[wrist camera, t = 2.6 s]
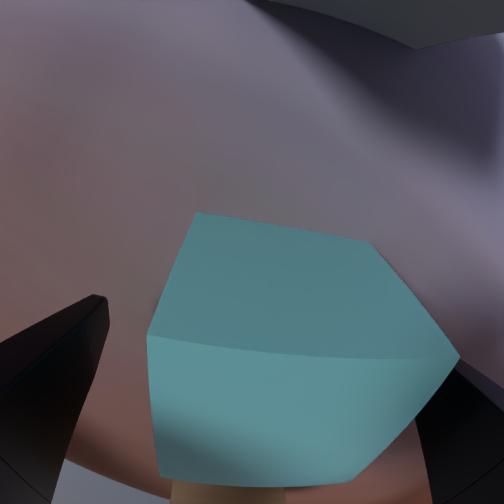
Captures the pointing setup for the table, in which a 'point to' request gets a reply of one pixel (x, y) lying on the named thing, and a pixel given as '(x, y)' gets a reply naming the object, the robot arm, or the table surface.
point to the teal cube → (285, 357)
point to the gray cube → (415, 18)
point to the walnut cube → (224, 494)
